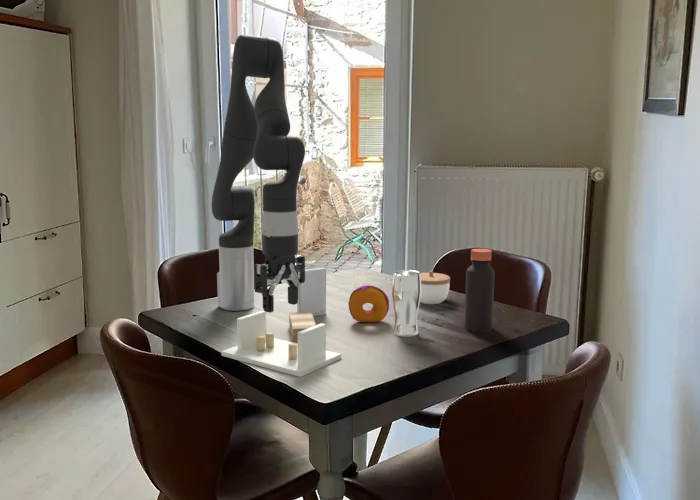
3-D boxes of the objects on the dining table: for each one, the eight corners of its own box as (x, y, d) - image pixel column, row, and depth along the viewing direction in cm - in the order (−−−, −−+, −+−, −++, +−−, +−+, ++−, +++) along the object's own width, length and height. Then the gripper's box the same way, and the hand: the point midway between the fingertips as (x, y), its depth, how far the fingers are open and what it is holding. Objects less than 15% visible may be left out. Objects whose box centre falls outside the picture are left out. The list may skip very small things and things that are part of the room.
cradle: (221, 355, 153) (220, 320, 151) (264, 339, 164) (264, 306, 163) (300, 376, 141) (300, 338, 139) (341, 358, 152) (341, 322, 150)
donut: (360, 317, 184) (361, 279, 182) (392, 322, 180) (392, 284, 178) (345, 324, 177) (345, 285, 176) (377, 330, 173) (378, 290, 171)
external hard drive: (326, 314, 187) (326, 268, 184) (299, 318, 182) (299, 271, 180) (323, 312, 188) (323, 267, 186) (296, 317, 183) (296, 270, 181)
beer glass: (400, 339, 165) (402, 277, 163) (386, 331, 172) (387, 271, 169) (425, 335, 169) (427, 274, 166) (410, 327, 175) (411, 268, 172)
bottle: (474, 324, 178) (478, 246, 174) (497, 330, 173) (501, 250, 170) (458, 329, 173) (461, 250, 170) (481, 335, 169) (485, 254, 165)
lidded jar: (455, 302, 200) (456, 269, 199) (439, 310, 191) (440, 276, 190) (421, 296, 206) (422, 265, 204) (404, 304, 197) (405, 272, 195)
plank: (289, 328, 175) (289, 312, 174) (311, 327, 176) (311, 311, 175) (293, 345, 161) (292, 328, 161) (316, 344, 162) (316, 327, 161)
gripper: (288, 226, 155) (288, 298, 158) (243, 234, 144) (244, 312, 147) (315, 229, 151) (315, 303, 154) (270, 238, 140) (272, 318, 142)
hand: (280, 307), depth 150 cm, fingers open, 7 cm apart
